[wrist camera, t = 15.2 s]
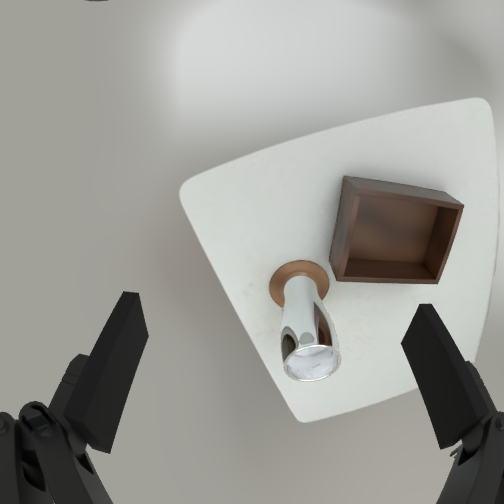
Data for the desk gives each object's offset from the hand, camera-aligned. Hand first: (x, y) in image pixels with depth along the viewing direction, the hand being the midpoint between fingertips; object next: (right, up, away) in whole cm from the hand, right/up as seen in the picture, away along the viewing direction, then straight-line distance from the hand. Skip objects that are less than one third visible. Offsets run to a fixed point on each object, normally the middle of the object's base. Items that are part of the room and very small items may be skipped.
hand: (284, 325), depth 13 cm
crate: (+18, +7, +26) cm, 33 cm away
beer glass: (+6, -2, +31) cm, 32 cm away
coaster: (+6, -2, +32) cm, 32 cm away
